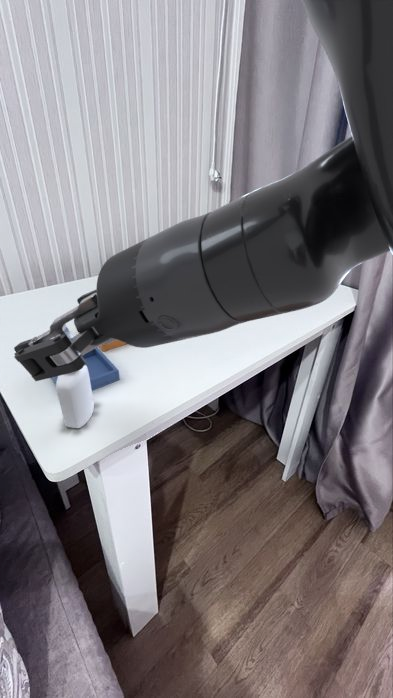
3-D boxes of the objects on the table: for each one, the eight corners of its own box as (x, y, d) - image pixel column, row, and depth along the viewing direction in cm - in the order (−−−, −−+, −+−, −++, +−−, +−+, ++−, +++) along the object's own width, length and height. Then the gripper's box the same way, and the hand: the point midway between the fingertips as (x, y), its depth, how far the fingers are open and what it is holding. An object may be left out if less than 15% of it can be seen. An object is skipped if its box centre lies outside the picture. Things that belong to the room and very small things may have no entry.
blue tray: (65, 400, 51) (63, 390, 50) (47, 371, 57) (44, 362, 56) (119, 379, 56) (118, 370, 55) (97, 354, 62) (96, 345, 61)
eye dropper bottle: (54, 419, 48) (36, 350, 42) (86, 399, 52) (74, 333, 45) (73, 433, 46) (57, 363, 39) (105, 411, 50) (95, 344, 43)
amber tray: (103, 351, 63) (102, 343, 62) (82, 329, 70) (81, 321, 69) (149, 336, 69) (149, 328, 68) (126, 317, 75) (125, 309, 74)
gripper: (195, 204, 27) (79, 264, 36) (80, 289, 17) (-36, 341, 27) (234, 284, 30) (118, 320, 39) (156, 395, 20) (27, 407, 30)
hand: (56, 328), depth 33 cm, fingers open, 8 cm apart
